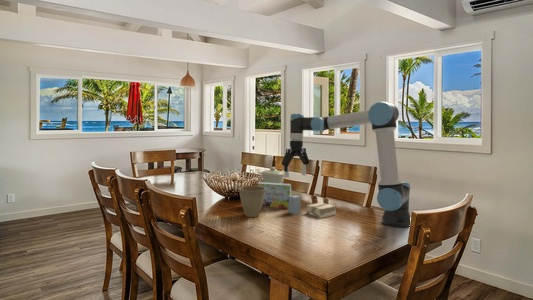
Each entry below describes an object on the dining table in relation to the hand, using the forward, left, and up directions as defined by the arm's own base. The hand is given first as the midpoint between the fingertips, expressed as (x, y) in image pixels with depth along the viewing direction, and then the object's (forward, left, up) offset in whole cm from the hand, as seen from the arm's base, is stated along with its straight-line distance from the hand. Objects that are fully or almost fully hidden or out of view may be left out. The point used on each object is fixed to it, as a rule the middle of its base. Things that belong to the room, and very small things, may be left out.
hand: (295, 176), depth 202 cm
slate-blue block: (0, 0, -22) cm, 22 cm away
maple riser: (-11, -11, -22) cm, 27 cm away
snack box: (+19, 0, -22) cm, 29 cm away
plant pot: (+10, +24, -22) cm, 34 cm away
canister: (+45, -20, -22) cm, 54 cm away
